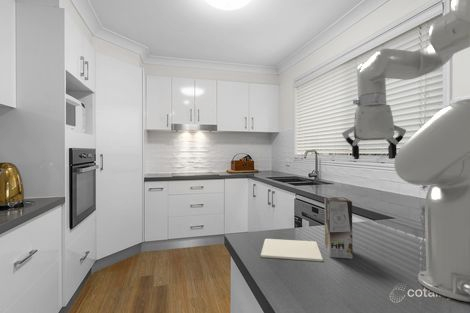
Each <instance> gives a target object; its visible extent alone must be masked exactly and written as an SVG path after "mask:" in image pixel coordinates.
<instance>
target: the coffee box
mask: <svg viewBox="0 0 470 313" xmlns="http://www.w3.org/2000/svg"><path fill="white" fill-rule="evenodd" d="M324 235H325V236H324V237H325V238H324V240H325V241H324V242H325V243H324V244H325V245H324V246H325V249H326V251H327V254H328V256H329V257H330V258H340V259H349V260H352V259H353V258H354V257H353V256H354V255H353V249H354V248H353V201H352V200H350V199H349V198H346V197H341V196H340V197H324Z"/></svg>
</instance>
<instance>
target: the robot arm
mask: <svg viewBox="0 0 470 313" xmlns="http://www.w3.org/2000/svg"><path fill="white" fill-rule="evenodd" d="M428 38H429V42H430V44H428V45H426V46H424V47H422V48H420V49H418V50H416V51H412V50H404V49H396V48H382V49H379V50H378V51H377V52H375V53H374V54H373V55H372V56H371V57H369V59H368V60H366V61H363V62H361V63H360V64H359V65H358V66H357V69H356V75H357V76H356V79H357V81H356V83H357V84H356V85H357V99H354V100H352V105H356V106H357V107H356V108H355V112H354V122H353V126H352V127H350V128H348V129H346V130H345V131H343V132H342V133H341V135H342V136H343V139H344V140H345V142H347V144H349V145H350V146H351V151H352V152H351V154H352V155H351V156H352V157H353V159H354V160H359V159H360V146H359V145H358V144H359V143H360V141H381V140H382V141H383V140H385V141H386V142H387V143H388V147H387V149H388V150H387V151H388V159H391V160H393V159H394V163H393V164H394V170H395V173H396V175H397V176H398V177H399V178H400V179H401V180H403V181H404V182H405V183H408V184H411V185H416V186H429V188H428V190H427V192H426V195H425V201H424V202H425V203H424V225H425V226H424V229H425V230H424V231H425V262H426V263H425V266H426V267H425V270H422V271H419V273H418V275H417V280H418V282H419V283H420V285H422V286H423V287H424V288H426V289H428V290H429V291H431V292H434V293H436V294H438V295H441V296H444V297H447V298H450V299H452V300H458V301H462V302H467V303H470V98H468V99H467V98H466V99H463V100H462V99H461V100H458V101H455V102H452V103H450V104H449V105H446V106H445V107H443V108H441V109H440V110H438V111H437V112H436V113H435V114H434V115H433V116H432V117H431V118H429V120H427V121H426V122H425V123H424V124H423V125H422V126H421V127H420V128H419V129H418V130H417V131H416V132H415V133H414V134H412V135H411V137H409V138H408V139H407V140H406V141H405V142H404V143H403V144H402V145H401V147H400V148H399V149H398V151H397V145H398V144H399V142H401V141H402V140H403V139H404V136H405V134H406V133H407V129H405V128H403V127H400V126H397V125H396V124H395V123H394V118H393V113H392V108H391V105H390V104H387V88H386V86H387V85H386V83H387V82H386V79H394V80H405V81H406V80H407V81H408V80H414V79H417V78H419V77H422V76H423V77H424V76H425V75H428V74H431V73H433V72H435V71H437V70H439V69H441V68H442V67H444V66H445V65H446V64H447V63H448V62H449V61H450V60H451V59H452V57H453V56H454V55H455V54H457V53H459V52H461V51H463V50H465V49H468V48H470V0H451V3H450V11H449V12H447V13H446V14H444V15H442V16H440V17H439V18H437V19H436V20H434V22H433V23H432V24H431V26H430V28H429V32H428ZM395 132H396V133H397V136H396V137H395ZM351 133H353V136H354V139H353V138H351V137H350V135H349V134H351Z"/></svg>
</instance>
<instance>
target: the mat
mask: <svg viewBox="0 0 470 313" xmlns="http://www.w3.org/2000/svg"><path fill="white" fill-rule="evenodd" d="M260 258H268V259H269V258H270V259H283V260H294V261H295V260H298V261H308V262H309V261H311V262H324V258H323V256H322V254H321V251H320V248H319V246H318V242H317V241H313V240H295V239H281V238H280V239H278V238H277V239H275V238H265V239H264V242H263V245H262V248H261V253H260Z"/></svg>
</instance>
